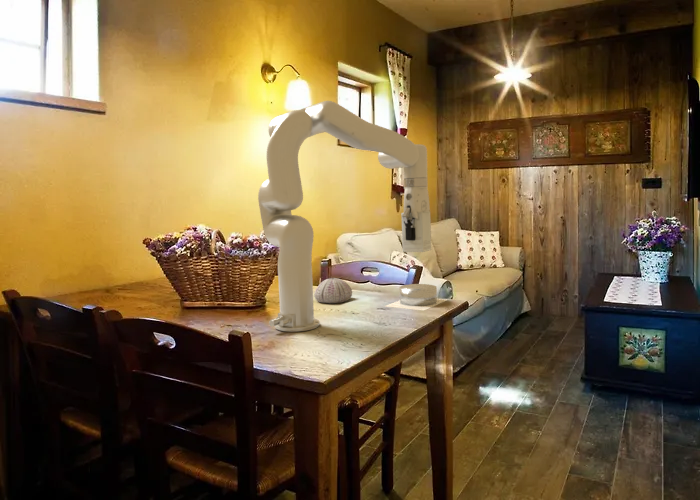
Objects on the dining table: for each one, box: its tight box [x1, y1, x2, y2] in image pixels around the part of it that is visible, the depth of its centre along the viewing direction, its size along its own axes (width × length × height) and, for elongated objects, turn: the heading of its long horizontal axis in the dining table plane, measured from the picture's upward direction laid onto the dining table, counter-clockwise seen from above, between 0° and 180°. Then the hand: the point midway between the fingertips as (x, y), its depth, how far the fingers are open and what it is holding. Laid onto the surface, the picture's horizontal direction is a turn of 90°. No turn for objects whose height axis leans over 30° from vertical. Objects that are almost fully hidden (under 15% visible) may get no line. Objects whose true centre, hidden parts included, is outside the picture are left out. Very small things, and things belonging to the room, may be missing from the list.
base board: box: [384, 298, 448, 311], centre depth 174 cm, size 18×14×1 cm
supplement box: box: [401, 211, 432, 253], centre depth 172 cm, size 7×7×13 cm
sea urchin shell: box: [313, 277, 353, 304], centre depth 186 cm, size 13×14×8 cm
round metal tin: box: [399, 283, 438, 306], centre depth 175 cm, size 12×12×5 cm
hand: (416, 238), depth 172 cm, fingers closed on supplement box, 7 cm apart
